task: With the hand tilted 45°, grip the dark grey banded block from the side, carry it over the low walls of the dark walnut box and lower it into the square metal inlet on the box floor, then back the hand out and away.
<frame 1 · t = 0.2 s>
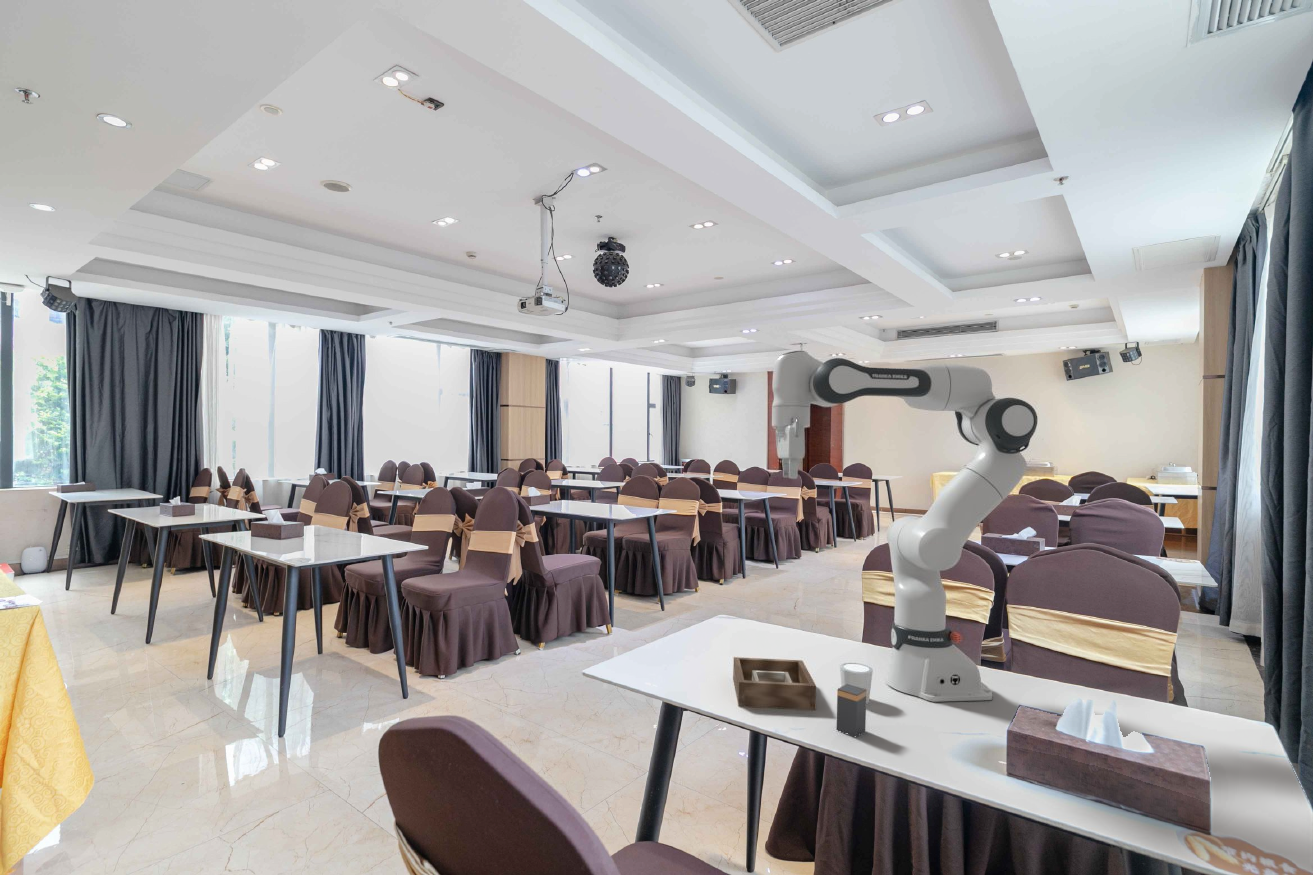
hand: (790, 478, 149), 47 cm above the table, tool pointing down, fingers open, 8 cm apart
white cup: (855, 700, 138), on the table
walnut box: (771, 693, 140), on the table
dark grey banded block: (850, 730, 122), on the table
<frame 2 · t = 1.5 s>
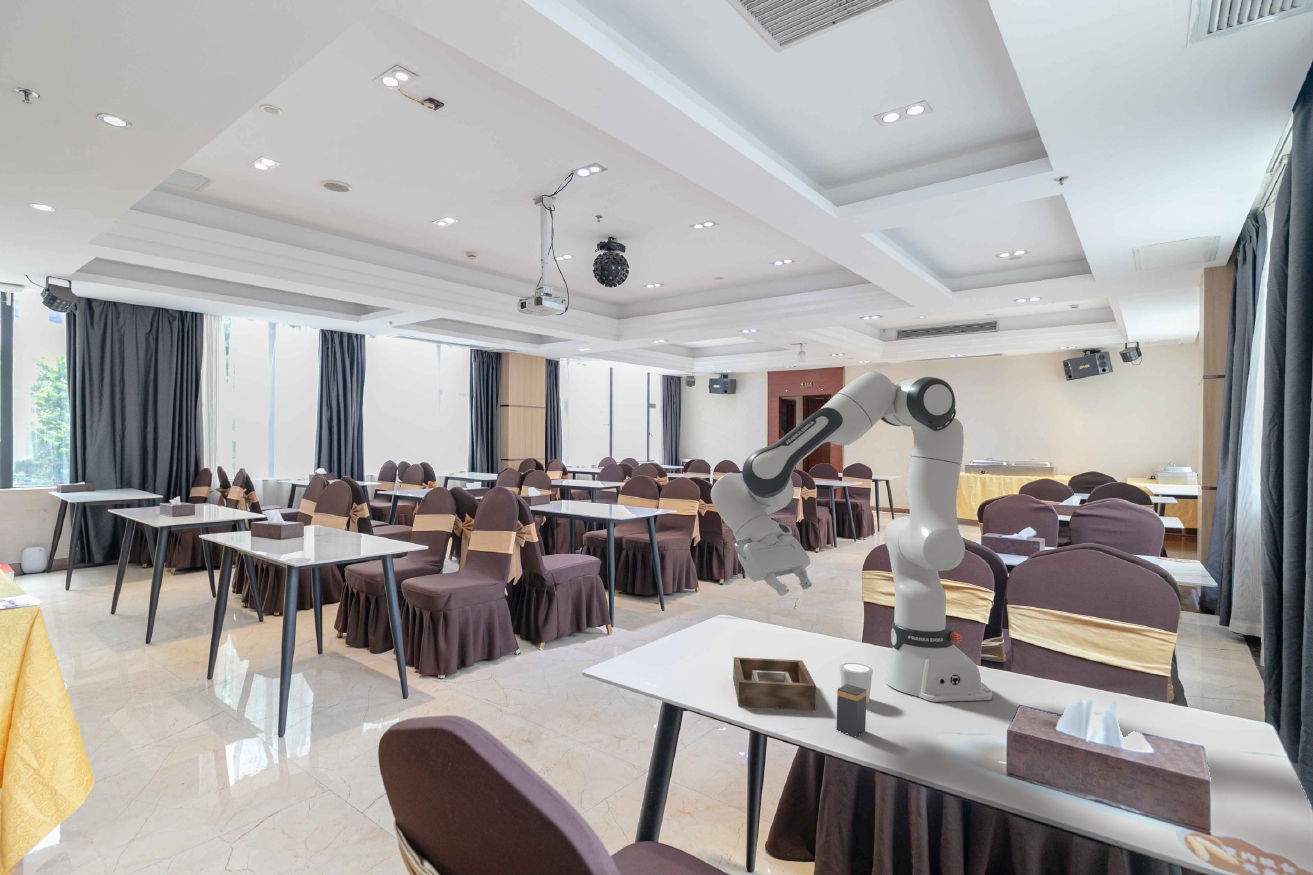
hand: (797, 590, 131), 25 cm above the table, tool tilted 45°, fingers open, 8 cm apart
nothing on the table moved.
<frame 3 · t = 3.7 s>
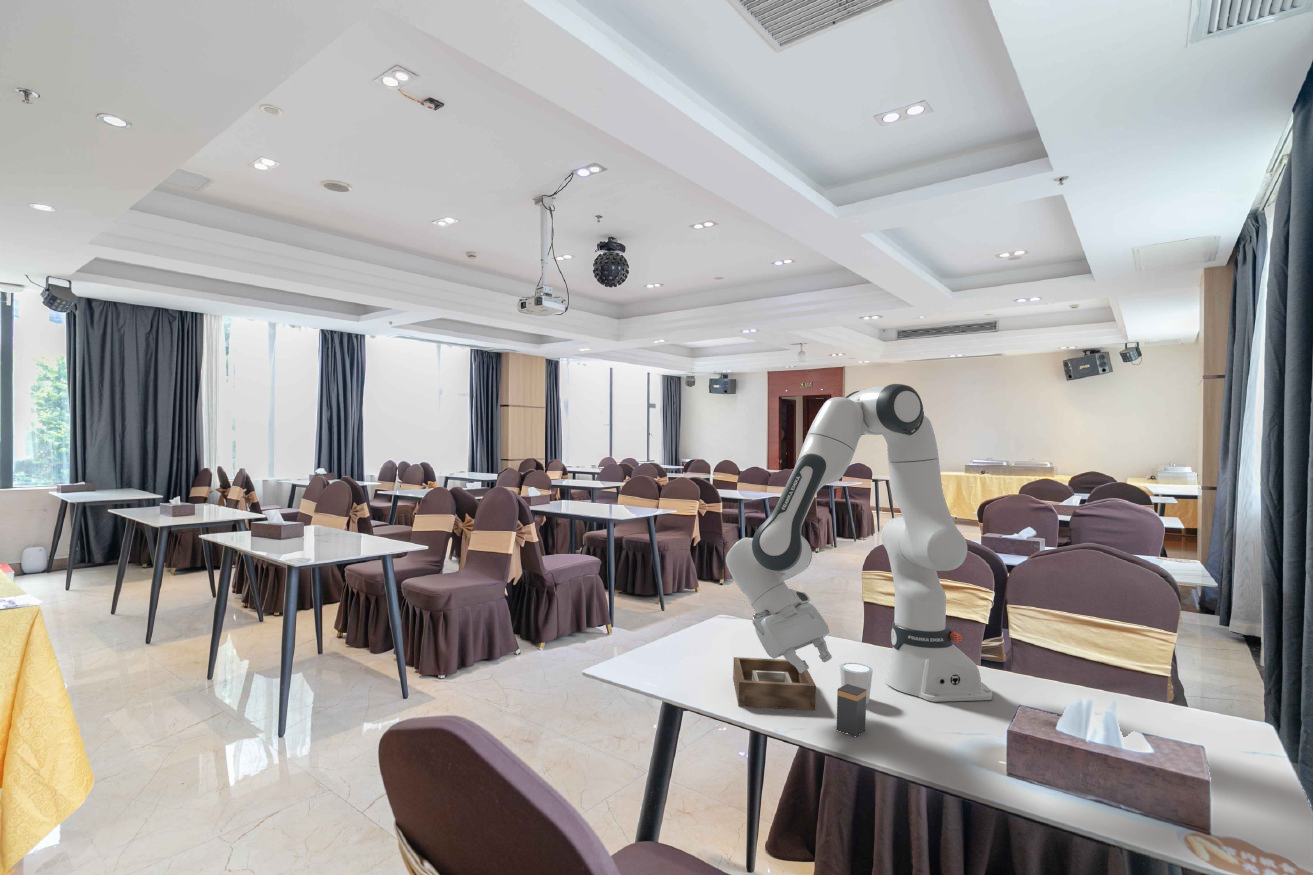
hand: (817, 665, 128), 11 cm above the table, tool tilted 45°, fingers open, 8 cm apart
nothing on the table moved.
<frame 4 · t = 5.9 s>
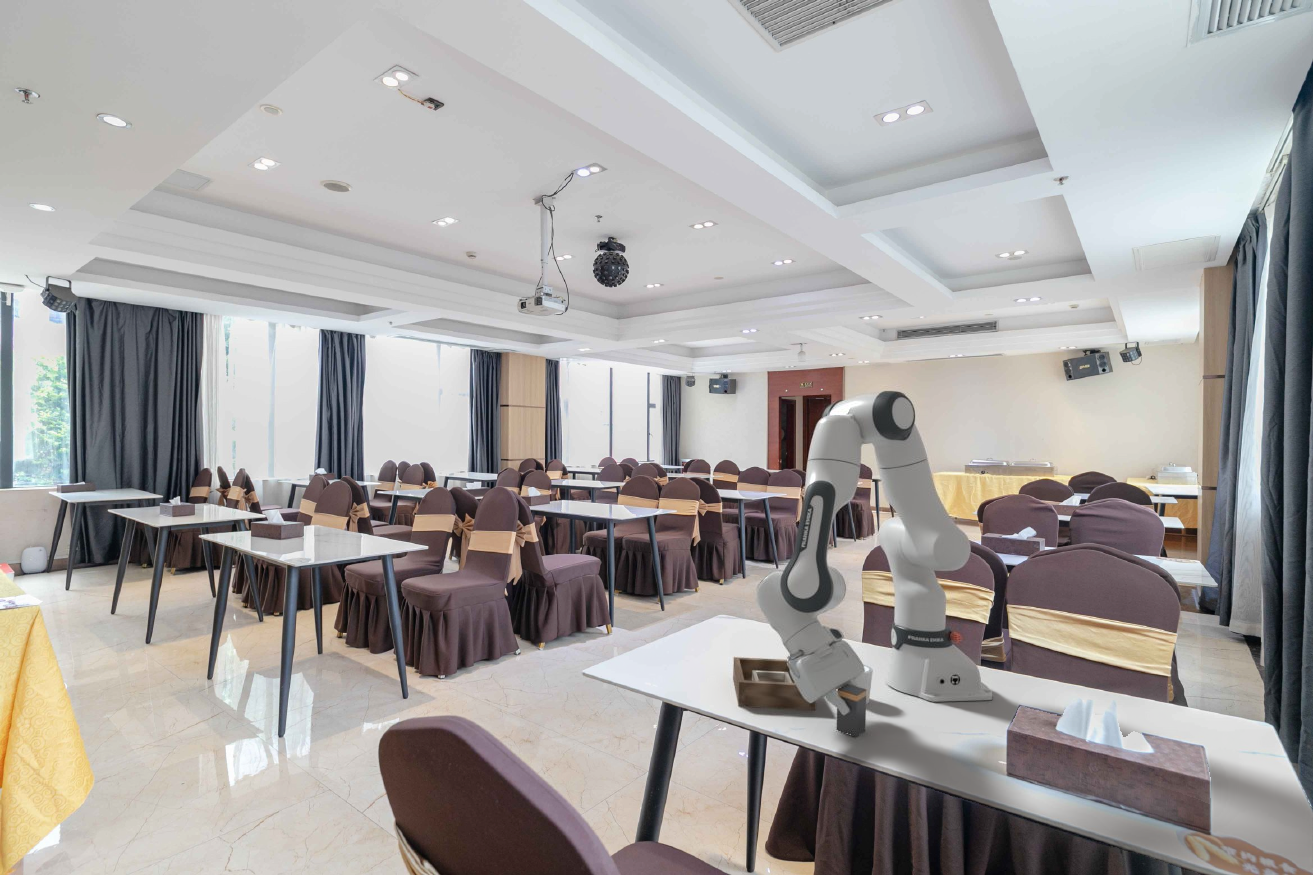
hand: (854, 708, 122), 4 cm above the table, tool tilted 45°, fingers closed on dark grey banded block, 4 cm apart
dark grey banded block: (850, 730, 122), on the table, touching gripper
everything else where it was.
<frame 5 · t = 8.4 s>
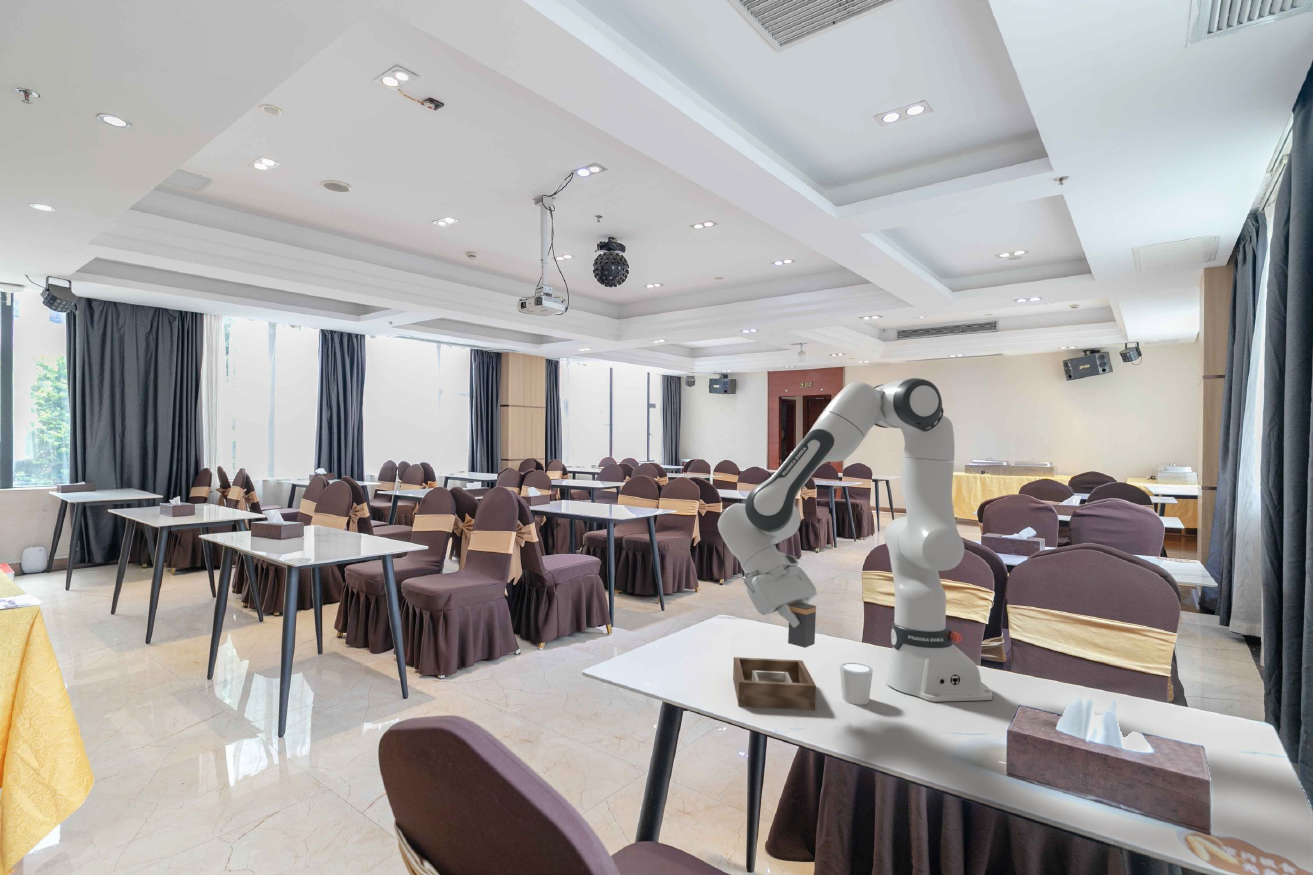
hand: (804, 623, 133), 18 cm above the table, tool tilted 45°, fingers closed on dark grey banded block, 4 cm apart
dark grey banded block: (801, 643, 133), point 13 cm above the table, touching gripper
everything else where it was.
when the fingers open (7 cm above the table, at t = 11.3 s): dark grey banded block drops 1 cm, resting on walnut box.
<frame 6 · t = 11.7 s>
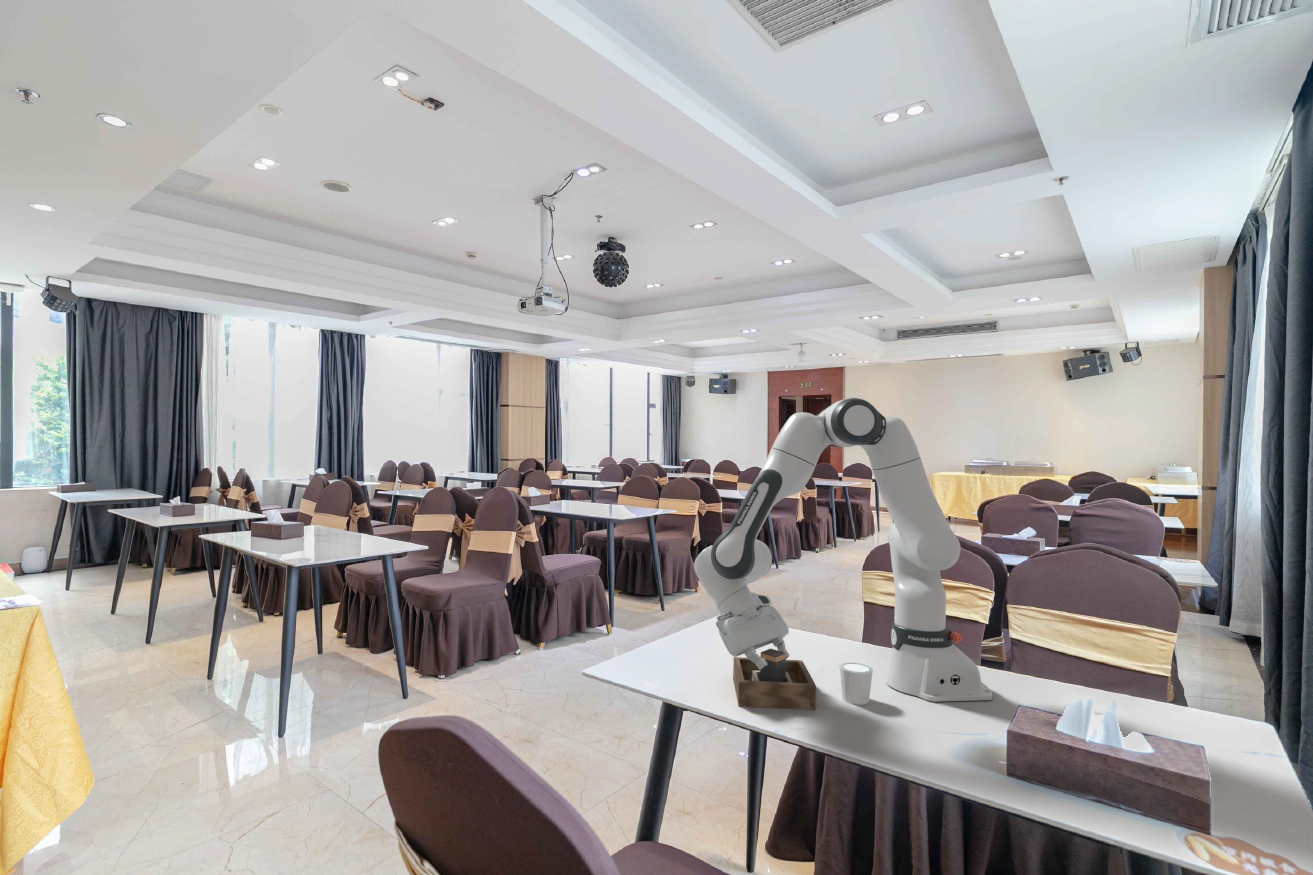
hand: (775, 662, 140), 7 cm above the table, tool tilted 45°, fingers open, 8 cm apart
dark grey banded block: (772, 688, 140), point 1 cm above the table, touching walnut box
everything else where it was.
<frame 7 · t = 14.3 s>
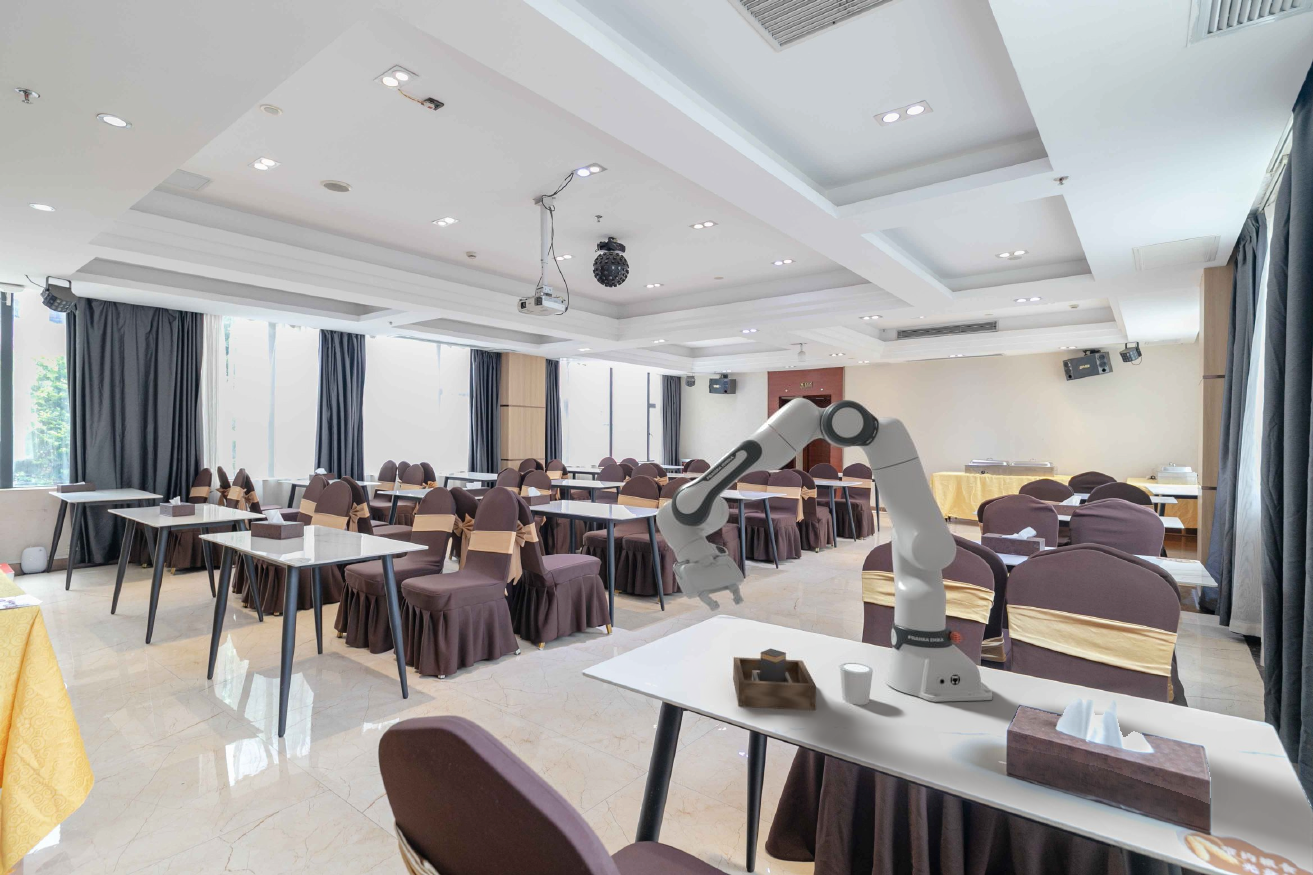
hand: (728, 606, 149), 17 cm above the table, tool tilted 45°, fingers open, 8 cm apart
nothing on the table moved.
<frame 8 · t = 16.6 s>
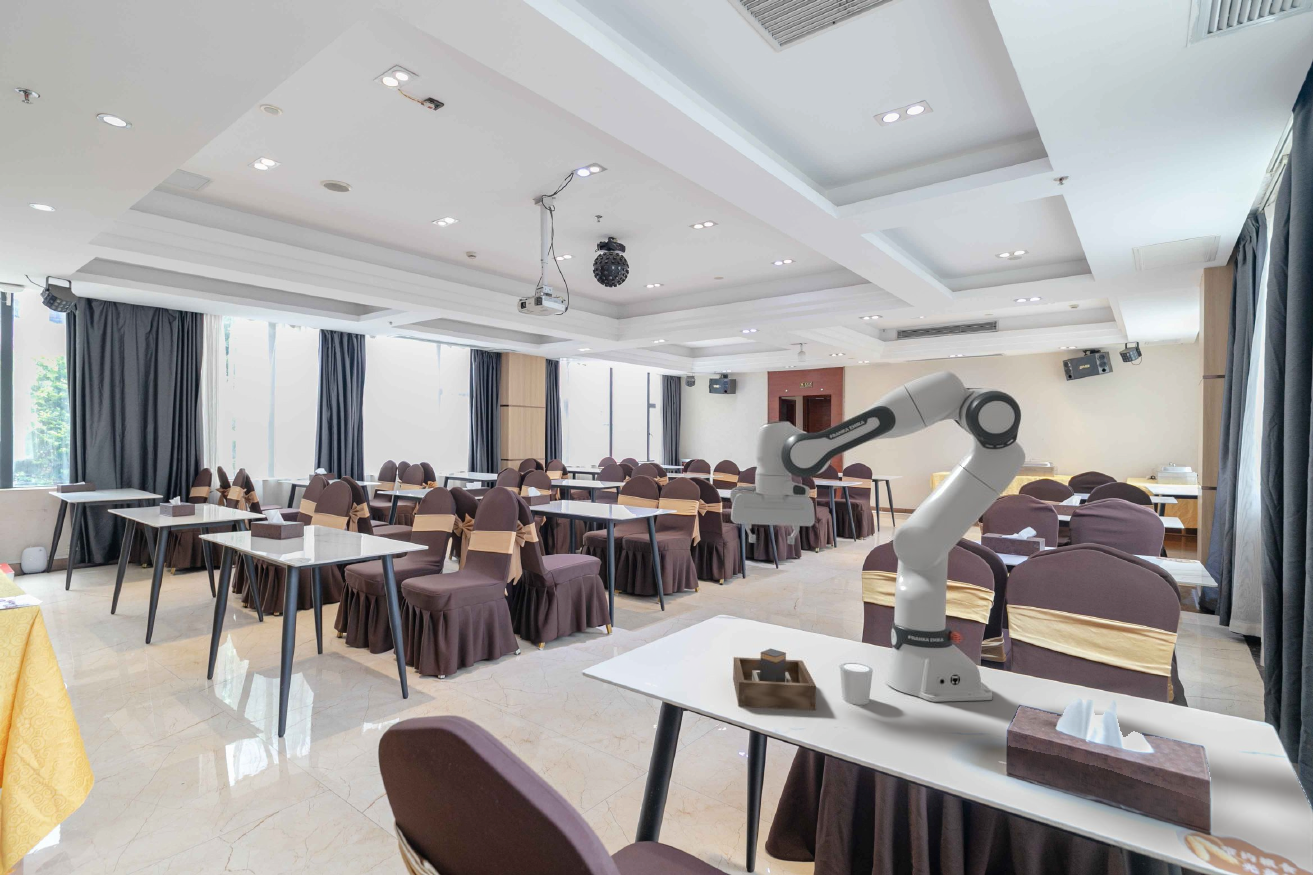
hand: (771, 543, 155), 31 cm above the table, tool pointing down, fingers open, 8 cm apart
nothing on the table moved.
at the end: dark grey banded block 0.1 cm off-centre on the walnut box, point 1.0 cm above the walnut box's base; dark grey banded block tilted 0°; the gripper is holding nothing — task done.
